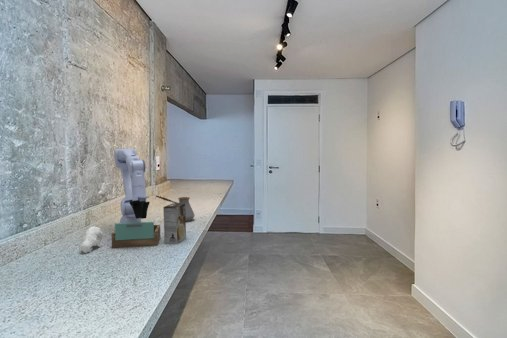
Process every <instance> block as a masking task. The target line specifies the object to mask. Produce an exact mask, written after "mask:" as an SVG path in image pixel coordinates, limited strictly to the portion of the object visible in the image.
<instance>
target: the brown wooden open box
mask: <svg viewBox="0 0 507 338" xmlns="http://www.w3.org/2000/svg"><path fill="white" fill-rule="evenodd" d="M160 240H161V224H154V238H150V239H131V240H115V230H113V232H112V233H111V249H118V248H121V249H122V248H138V247H156V246H158V245H159V242H160Z"/></svg>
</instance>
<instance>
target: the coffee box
mask: <svg viewBox="0 0 507 338" xmlns="http://www.w3.org/2000/svg"><path fill="white" fill-rule="evenodd" d="M163 234H164V244H174V245H178V244H180V243H181V242H182V241H184V240H185V239H186V238H187V222H186V216H185V204H180V203H179V202H178V203H173V202H171V203H170V204H168V205H164V206H163Z"/></svg>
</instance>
